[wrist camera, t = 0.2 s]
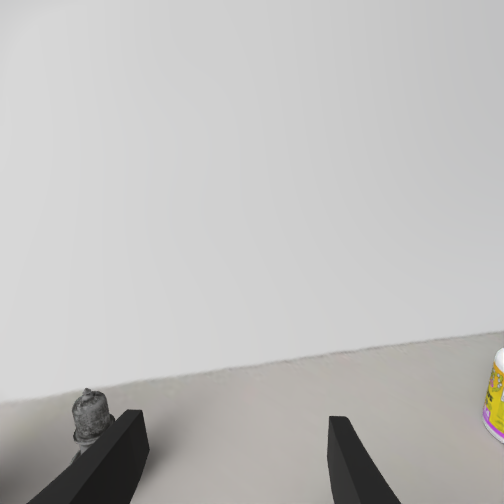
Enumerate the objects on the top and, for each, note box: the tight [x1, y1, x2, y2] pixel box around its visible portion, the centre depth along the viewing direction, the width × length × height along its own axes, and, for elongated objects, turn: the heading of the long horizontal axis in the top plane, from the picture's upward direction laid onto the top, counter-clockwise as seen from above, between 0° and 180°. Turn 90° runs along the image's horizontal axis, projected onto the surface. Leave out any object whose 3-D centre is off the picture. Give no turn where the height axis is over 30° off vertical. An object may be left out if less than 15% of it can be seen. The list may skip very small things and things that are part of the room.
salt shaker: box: [69, 388, 115, 466], centre depth 29 cm, size 6×6×12 cm
